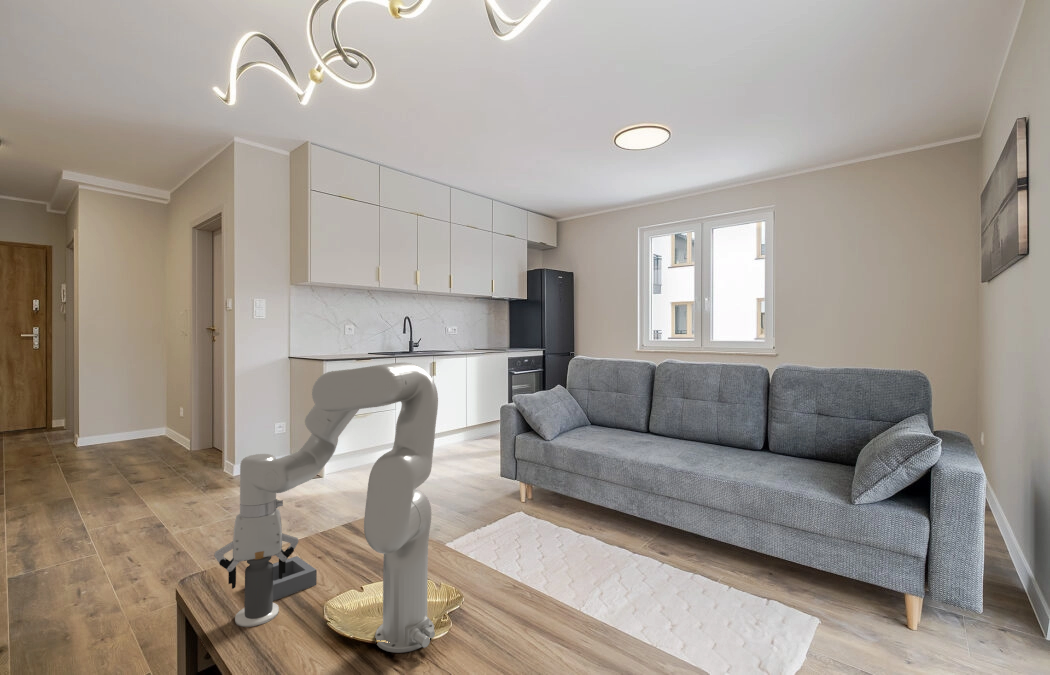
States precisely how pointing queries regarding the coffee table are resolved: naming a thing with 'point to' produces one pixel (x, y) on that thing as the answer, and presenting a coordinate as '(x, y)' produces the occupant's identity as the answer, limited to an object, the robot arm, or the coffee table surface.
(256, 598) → the bottle
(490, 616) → the coffee table surface
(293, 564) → the square frame
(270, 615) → the white round part
